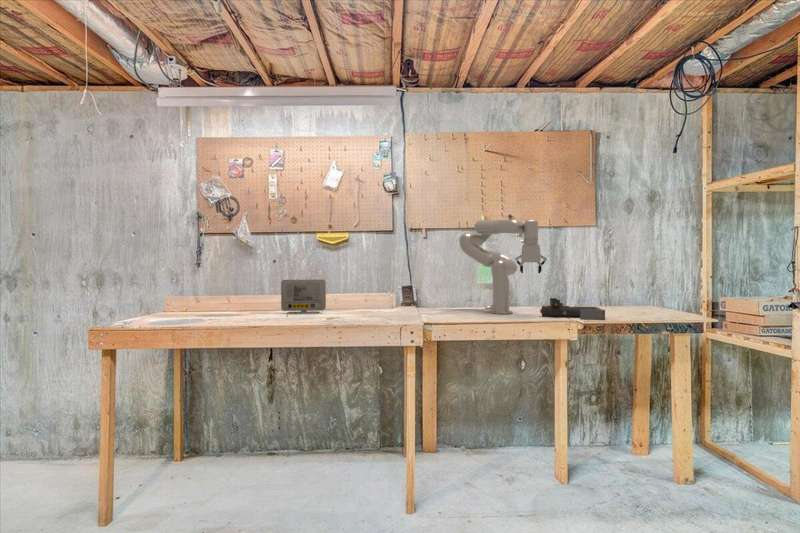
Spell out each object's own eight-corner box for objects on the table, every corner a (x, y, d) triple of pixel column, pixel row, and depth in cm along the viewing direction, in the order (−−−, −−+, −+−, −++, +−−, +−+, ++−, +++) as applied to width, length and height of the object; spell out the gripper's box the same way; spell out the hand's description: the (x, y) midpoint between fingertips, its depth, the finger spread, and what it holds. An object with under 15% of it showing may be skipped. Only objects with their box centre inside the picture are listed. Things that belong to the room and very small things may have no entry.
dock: (580, 319, 219) (580, 309, 219) (573, 315, 235) (573, 306, 235) (605, 319, 216) (605, 310, 216) (596, 315, 233) (596, 306, 233)
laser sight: (585, 319, 222) (585, 300, 221) (541, 317, 226) (541, 299, 226) (581, 316, 231) (581, 298, 231) (539, 315, 236) (539, 298, 235)
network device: (326, 312, 252) (326, 279, 251) (324, 314, 243) (324, 279, 243) (283, 312, 250) (283, 279, 250) (280, 314, 241) (280, 280, 241)
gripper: (515, 242, 229) (515, 273, 230) (548, 241, 226) (548, 273, 226) (514, 242, 237) (514, 272, 237) (546, 242, 233) (545, 273, 234)
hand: (530, 273), depth 232 cm, fingers open, 8 cm apart
